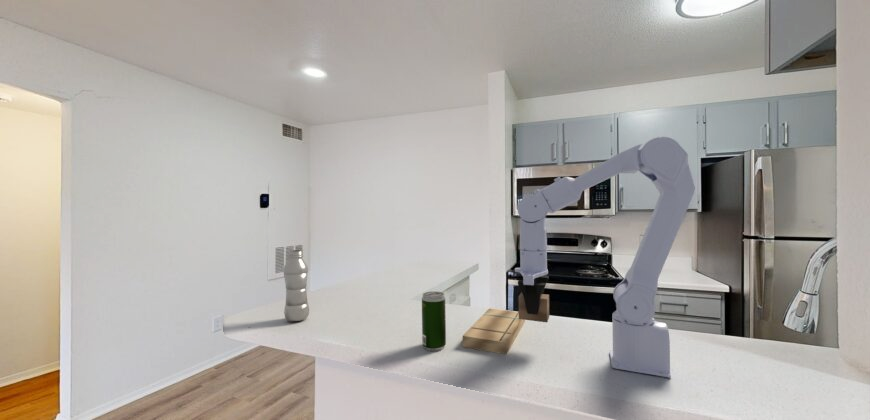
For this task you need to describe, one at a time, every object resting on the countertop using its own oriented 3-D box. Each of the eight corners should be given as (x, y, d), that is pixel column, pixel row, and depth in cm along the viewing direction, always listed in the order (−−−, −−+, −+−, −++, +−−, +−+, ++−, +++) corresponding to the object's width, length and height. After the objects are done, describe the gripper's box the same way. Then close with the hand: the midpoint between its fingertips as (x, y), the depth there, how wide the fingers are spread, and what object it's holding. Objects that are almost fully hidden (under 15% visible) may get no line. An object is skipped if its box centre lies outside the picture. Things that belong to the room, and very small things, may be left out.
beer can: (430, 353, 72) (429, 298, 72) (418, 345, 76) (417, 293, 76) (450, 347, 75) (449, 294, 74) (437, 340, 79) (436, 290, 79)
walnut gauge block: (549, 316, 74) (549, 294, 74) (547, 322, 71) (546, 299, 70) (522, 313, 77) (521, 292, 77) (518, 318, 73) (518, 296, 73)
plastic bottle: (304, 324, 92) (302, 252, 91) (279, 324, 92) (278, 252, 92) (313, 316, 98) (311, 249, 98) (290, 316, 98) (289, 249, 98)
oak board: (524, 321, 91) (524, 312, 91) (506, 354, 71) (506, 342, 71) (489, 317, 95) (489, 308, 95) (462, 346, 75) (462, 335, 75)
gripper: (521, 245, 82) (521, 300, 82) (508, 253, 69) (509, 318, 69) (551, 246, 79) (551, 303, 79) (543, 254, 66) (544, 322, 66)
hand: (534, 310), depth 74 cm, fingers closed on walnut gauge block, 4 cm apart
